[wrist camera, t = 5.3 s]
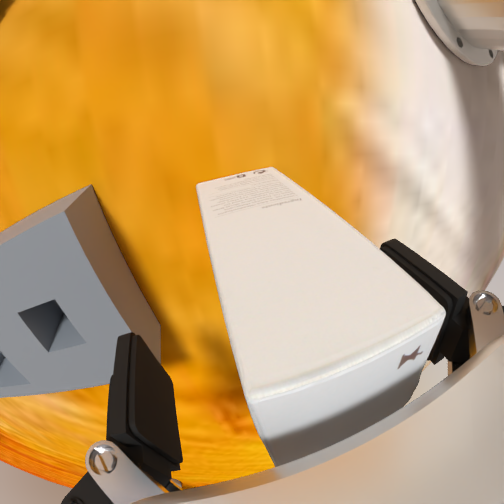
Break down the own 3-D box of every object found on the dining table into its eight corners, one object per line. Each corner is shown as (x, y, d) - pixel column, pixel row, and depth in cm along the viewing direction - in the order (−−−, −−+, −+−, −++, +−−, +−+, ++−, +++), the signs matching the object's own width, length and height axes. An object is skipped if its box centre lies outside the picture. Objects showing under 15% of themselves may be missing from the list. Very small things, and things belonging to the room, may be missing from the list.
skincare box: (192, 182, 14) (239, 397, 4) (272, 164, 14) (457, 305, 4) (218, 279, 17) (277, 478, 7) (285, 260, 18) (393, 430, 7)
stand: (91, 184, 12) (64, 211, 9) (160, 325, 18) (161, 372, 14) (-59, 274, 11) (-82, 304, 7) (5, 364, 16) (-7, 397, 13)
